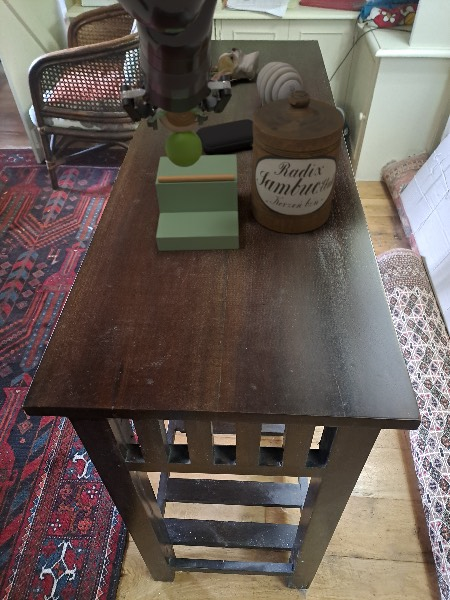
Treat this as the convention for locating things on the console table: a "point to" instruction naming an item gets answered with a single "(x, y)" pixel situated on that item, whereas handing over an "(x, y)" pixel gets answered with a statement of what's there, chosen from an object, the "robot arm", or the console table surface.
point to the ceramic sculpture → (236, 65)
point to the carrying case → (226, 136)
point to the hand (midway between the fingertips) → (177, 120)
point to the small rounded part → (182, 138)
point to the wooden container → (295, 162)
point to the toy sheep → (277, 82)
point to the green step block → (198, 204)
